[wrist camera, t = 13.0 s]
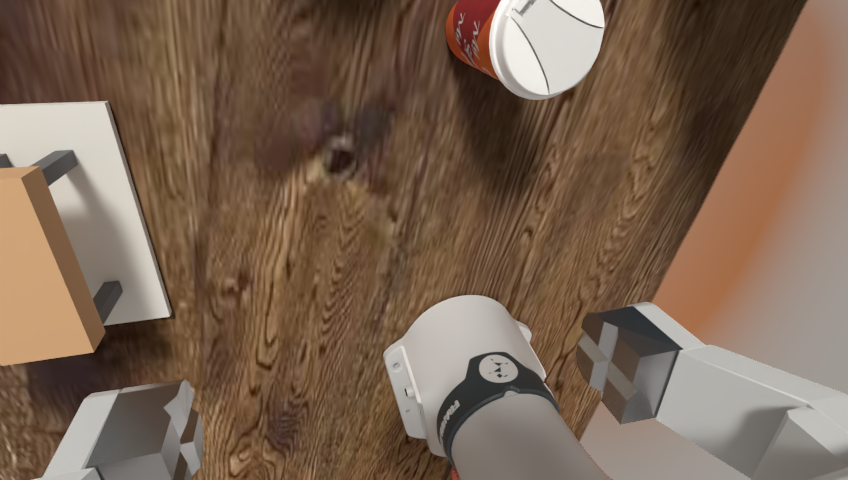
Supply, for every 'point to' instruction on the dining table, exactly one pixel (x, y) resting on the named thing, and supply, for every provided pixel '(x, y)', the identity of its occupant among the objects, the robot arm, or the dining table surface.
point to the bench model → (43, 271)
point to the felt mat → (92, 199)
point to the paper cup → (528, 41)
